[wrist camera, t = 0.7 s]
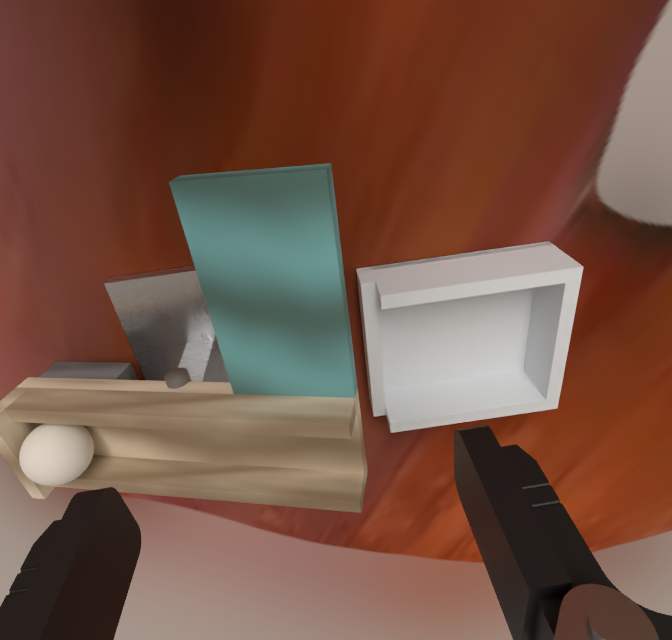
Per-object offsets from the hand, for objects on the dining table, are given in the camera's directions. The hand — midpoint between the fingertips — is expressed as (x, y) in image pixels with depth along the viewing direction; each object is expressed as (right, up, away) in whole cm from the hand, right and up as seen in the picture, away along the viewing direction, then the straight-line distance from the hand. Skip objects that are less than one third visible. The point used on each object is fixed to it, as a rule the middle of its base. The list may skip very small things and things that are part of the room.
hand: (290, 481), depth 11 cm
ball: (-16, -4, +18) cm, 24 cm away
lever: (-8, +3, +17) cm, 20 cm away
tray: (+10, +3, +25) cm, 27 cm away
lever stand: (-9, +1, +24) cm, 26 cm away
